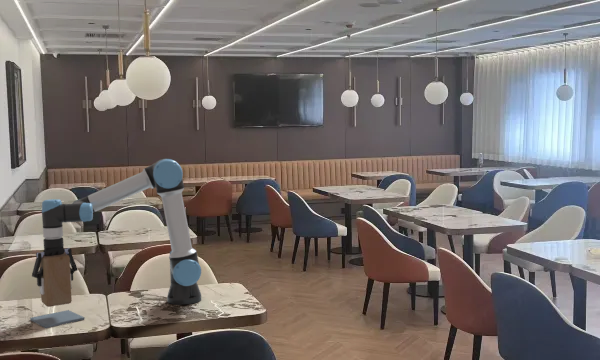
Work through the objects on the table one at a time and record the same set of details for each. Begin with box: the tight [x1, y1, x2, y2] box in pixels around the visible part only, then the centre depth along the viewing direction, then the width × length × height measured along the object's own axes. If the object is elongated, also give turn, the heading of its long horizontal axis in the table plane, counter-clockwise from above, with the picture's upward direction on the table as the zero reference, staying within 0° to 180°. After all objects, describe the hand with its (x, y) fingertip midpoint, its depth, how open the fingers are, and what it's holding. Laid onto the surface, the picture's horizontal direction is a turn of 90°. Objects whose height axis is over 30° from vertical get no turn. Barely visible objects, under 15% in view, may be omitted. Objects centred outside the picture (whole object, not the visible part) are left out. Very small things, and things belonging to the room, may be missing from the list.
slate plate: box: [29, 309, 86, 329], centre depth 271 cm, size 16×16×1 cm
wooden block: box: [39, 252, 73, 308], centre depth 270 cm, size 10×10×20 cm
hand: (56, 291), depth 270 cm, fingers closed on wooden block, 10 cm apart
